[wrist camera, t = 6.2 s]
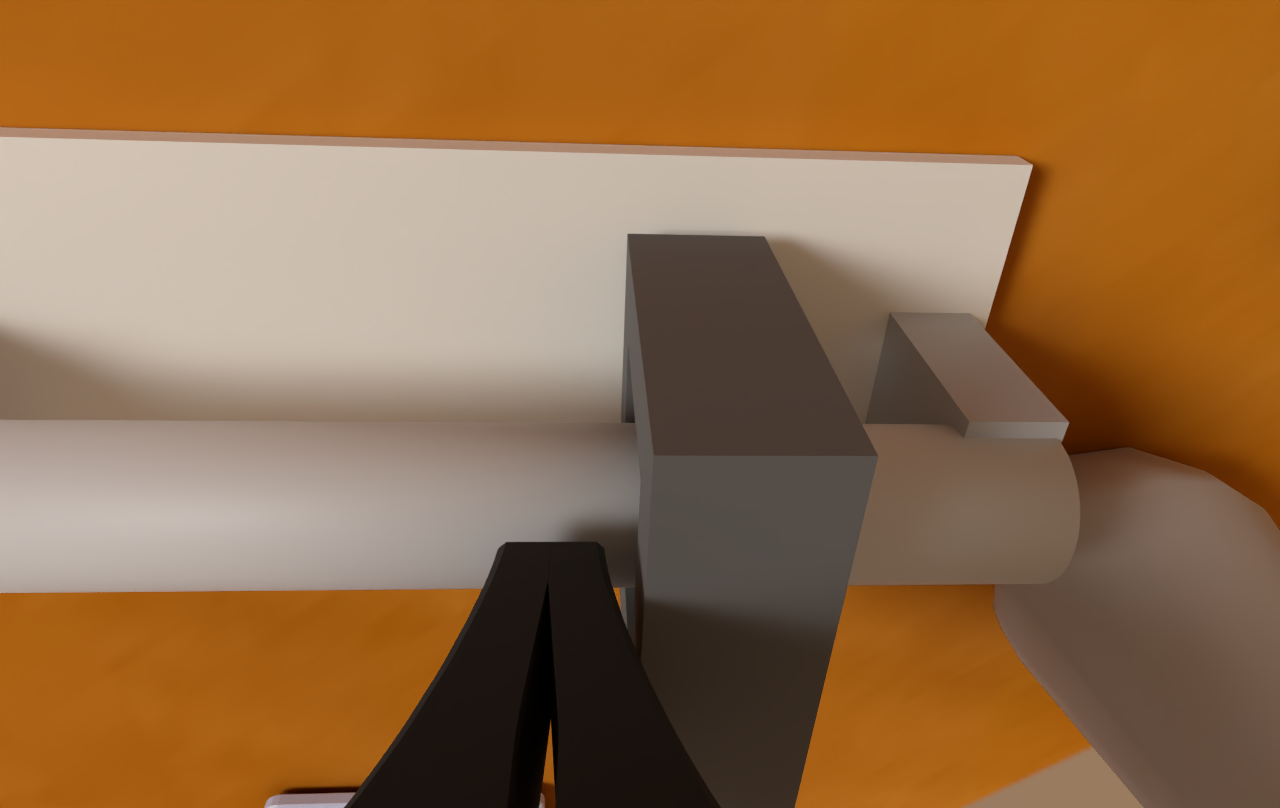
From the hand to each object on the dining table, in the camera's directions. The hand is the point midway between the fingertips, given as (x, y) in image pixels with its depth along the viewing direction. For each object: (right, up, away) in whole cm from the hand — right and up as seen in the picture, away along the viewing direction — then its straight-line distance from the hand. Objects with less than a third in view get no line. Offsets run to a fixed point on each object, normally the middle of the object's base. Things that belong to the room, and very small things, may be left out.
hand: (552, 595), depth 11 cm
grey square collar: (+2, +3, +5) cm, 6 cm away
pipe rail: (-3, +3, +5) cm, 7 cm away
